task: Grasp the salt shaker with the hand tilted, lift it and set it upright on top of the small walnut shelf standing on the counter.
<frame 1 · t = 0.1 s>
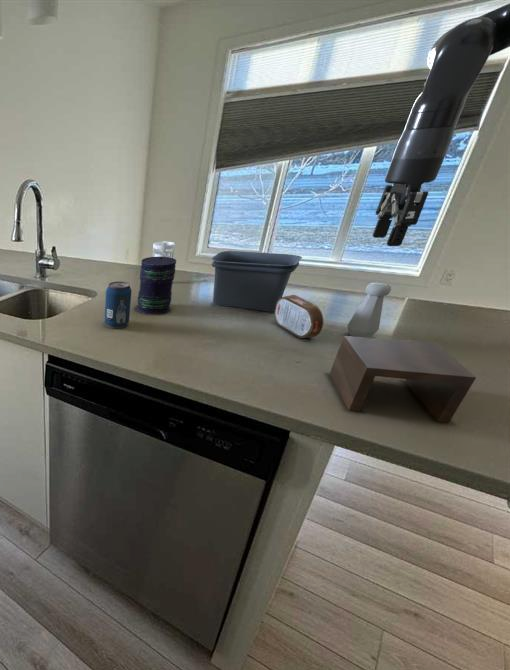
hand: (385, 241, 86), 23 cm above the countertop, tool pointing down, fingers open, 8 cm apart
soda can: (116, 325, 118), on the countertop
shelf: (383, 396, 77), on the countertop
salt shaker: (359, 336, 99), on the countertop
tin: (291, 332, 104), on the countertop
storage bin: (245, 304, 123), on the countertop
strainer: (159, 283, 148), on the countertop
storage jar: (153, 309, 126), on the countertop
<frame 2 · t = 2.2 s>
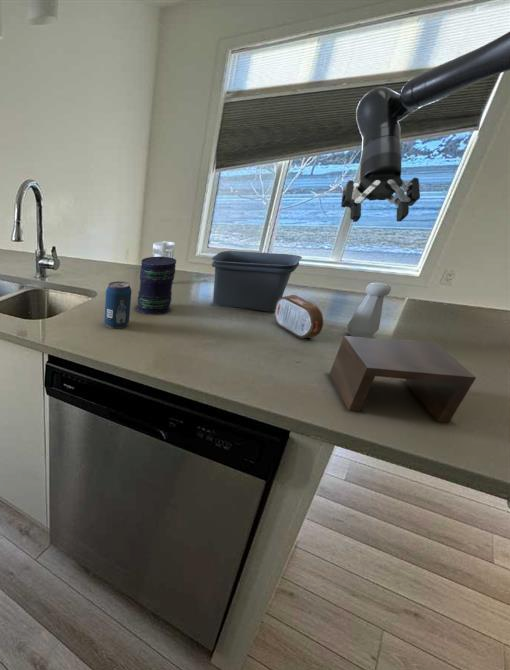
hand: (378, 219, 97), 25 cm above the countertop, tool tilted 45°, fingers open, 8 cm apart
nothing on the countertop moved.
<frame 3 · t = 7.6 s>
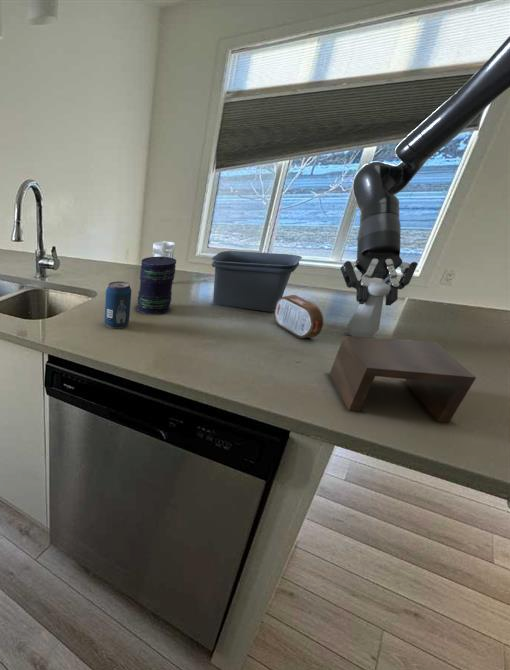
hand: (376, 303, 93), 9 cm above the countertop, tool tilted 45°, fingers closed on salt shaker, 4 cm apart
salt shaker: (359, 336, 99), on the countertop, touching gripper
everything else where it was.
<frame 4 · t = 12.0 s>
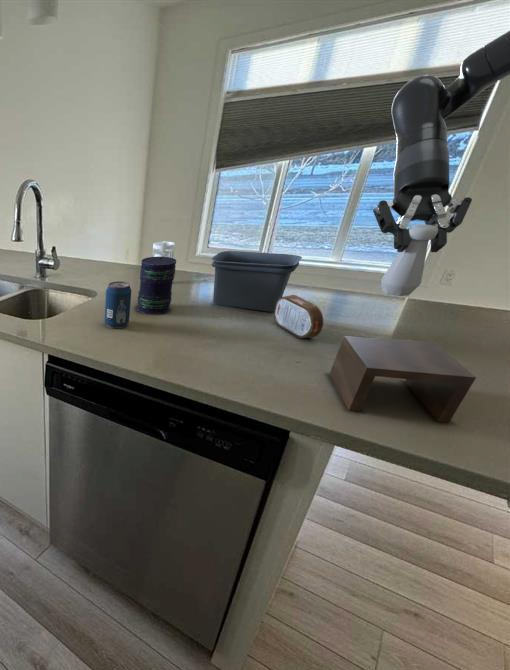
hand: (419, 249, 76), 24 cm above the countertop, tool tilted 45°, fingers closed on salt shaker, 4 cm apart
salt shaker: (395, 293, 82), point 15 cm above the countertop, touching gripper
everything else where it was.
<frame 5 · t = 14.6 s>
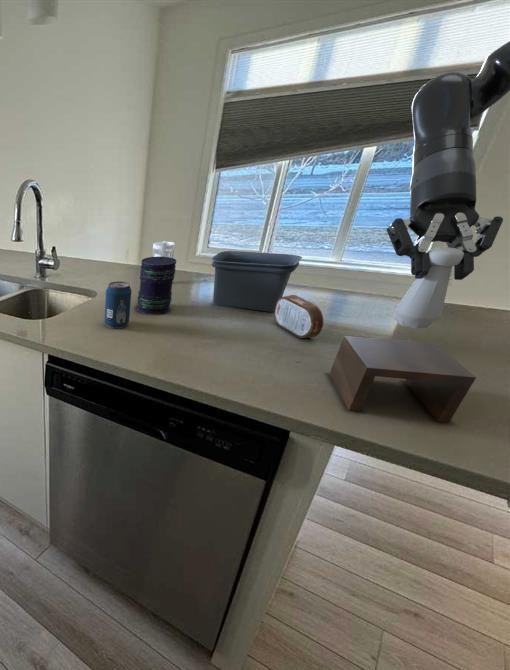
hand: (441, 276, 65), 23 cm above the countertop, tool tilted 45°, fingers closed on salt shaker, 4 cm apart
salt shaker: (411, 325, 71), point 14 cm above the countertop, touching gripper
everything else where it was.
when the fingers open (18 cm above the countertop, at t = 16.6 s): salt shaker stays where it is, resting on shelf.
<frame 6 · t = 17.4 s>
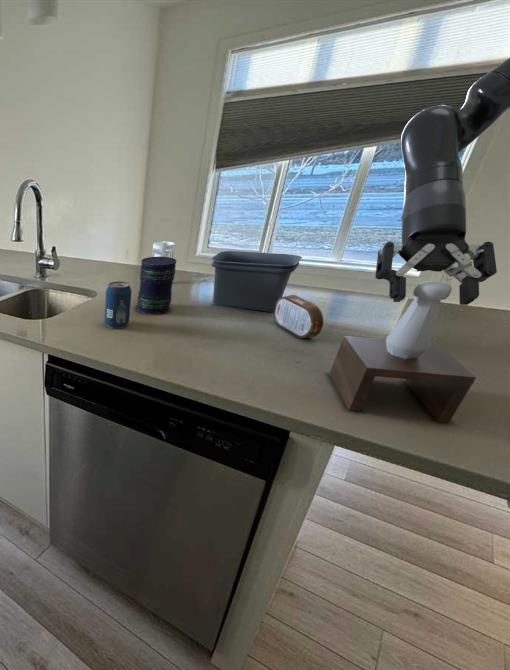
hand: (432, 301, 66), 19 cm above the countertop, tool tilted 45°, fingers open, 8 cm apart
salt shaker: (401, 354, 73), point 9 cm above the countertop, touching shelf
everything else where it was.
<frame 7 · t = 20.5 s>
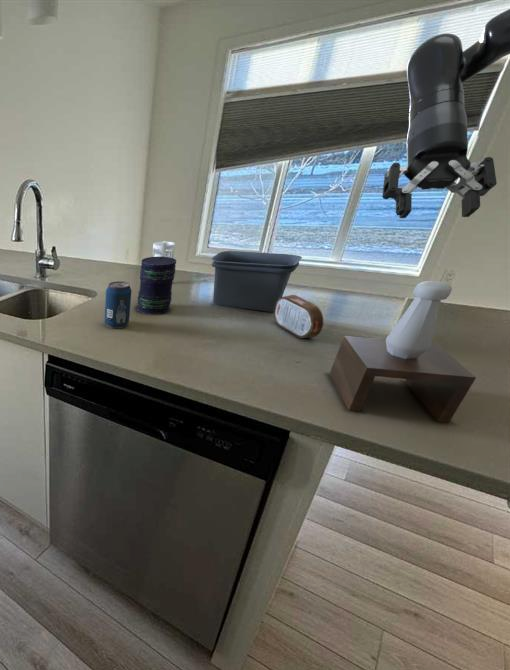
hand: (436, 214, 71), 31 cm above the countertop, tool tilted 45°, fingers open, 8 cm apart
nothing on the countertop moved.
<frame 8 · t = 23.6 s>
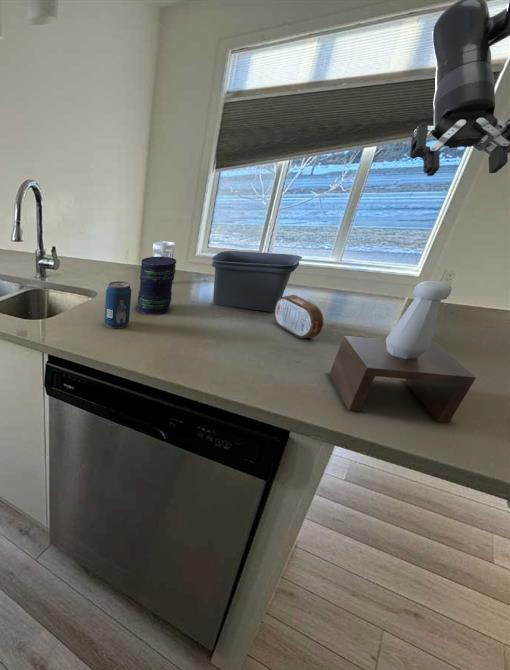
hand: (464, 171, 73), 37 cm above the countertop, tool tilted 45°, fingers open, 8 cm apart
nothing on the countertop moved.
at the end: salt shaker inside the target area on the shelf (0.2 cm from its centre), point 8.8 cm above the shelf's base; salt shaker tilted 0°; the gripper is holding nothing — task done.
